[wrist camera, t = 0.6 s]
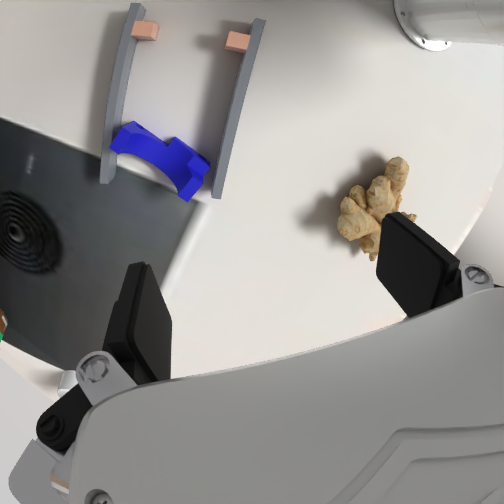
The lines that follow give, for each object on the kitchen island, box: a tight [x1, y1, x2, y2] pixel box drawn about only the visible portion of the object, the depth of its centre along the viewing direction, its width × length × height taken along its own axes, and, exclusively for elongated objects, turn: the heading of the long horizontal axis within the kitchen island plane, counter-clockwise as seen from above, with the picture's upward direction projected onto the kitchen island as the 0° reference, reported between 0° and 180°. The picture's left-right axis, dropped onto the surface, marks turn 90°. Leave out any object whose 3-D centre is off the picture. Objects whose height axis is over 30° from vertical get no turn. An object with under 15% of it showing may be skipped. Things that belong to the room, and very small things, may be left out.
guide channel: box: [100, 3, 266, 199], centre depth 31 cm, size 24×16×4 cm
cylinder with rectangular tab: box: [57, 370, 78, 398], centre depth 55 cm, size 9×9×12 cm
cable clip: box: [109, 121, 210, 202], centre depth 34 cm, size 12×4×6 cm, turn 48°
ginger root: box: [337, 157, 417, 261], centre depth 43 cm, size 16×16×8 cm
